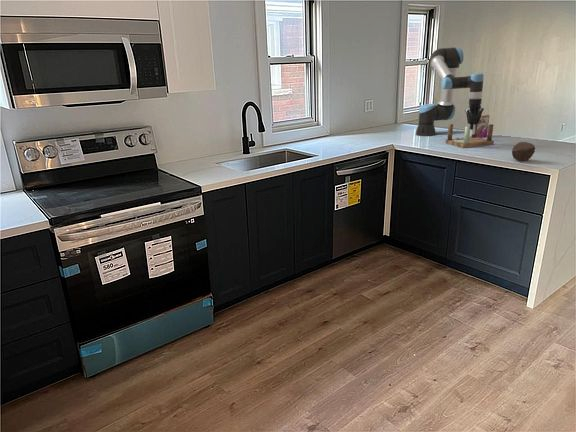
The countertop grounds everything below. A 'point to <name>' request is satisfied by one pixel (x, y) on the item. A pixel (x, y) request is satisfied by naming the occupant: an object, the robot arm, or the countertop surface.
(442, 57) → the robot arm
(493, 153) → the countertop surface
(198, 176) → the countertop surface
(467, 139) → the crank handle
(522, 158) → the rock
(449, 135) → the wooden peg board
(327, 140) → the countertop surface
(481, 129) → the candy bar box
